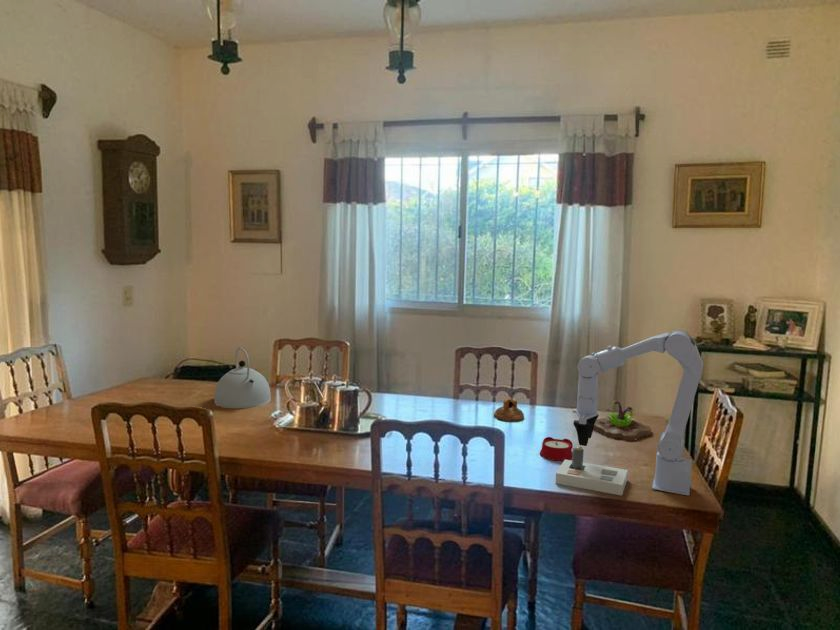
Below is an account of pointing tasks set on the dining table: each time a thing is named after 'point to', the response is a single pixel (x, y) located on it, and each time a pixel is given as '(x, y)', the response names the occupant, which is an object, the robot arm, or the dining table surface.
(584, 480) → the socket block
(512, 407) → the brown pouch
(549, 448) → the alarm clock
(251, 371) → the kettle
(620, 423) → the plant
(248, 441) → the dining table surface
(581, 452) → the plug
